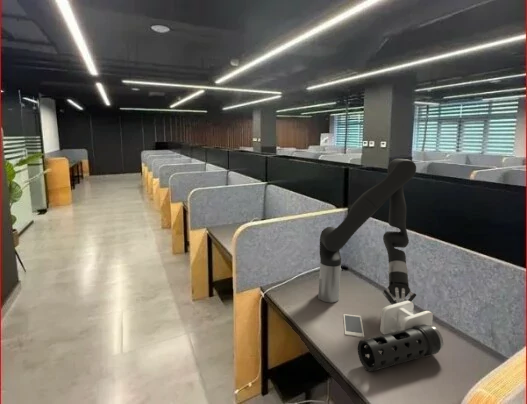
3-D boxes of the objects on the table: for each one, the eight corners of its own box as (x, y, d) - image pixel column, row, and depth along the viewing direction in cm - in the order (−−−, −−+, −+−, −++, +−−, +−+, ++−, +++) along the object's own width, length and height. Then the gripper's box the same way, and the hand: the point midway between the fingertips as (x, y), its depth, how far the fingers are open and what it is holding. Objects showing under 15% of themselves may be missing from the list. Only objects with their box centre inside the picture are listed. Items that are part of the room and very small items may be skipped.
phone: (344, 336, 116) (345, 333, 116) (343, 316, 130) (343, 313, 130) (364, 338, 115) (364, 336, 115) (360, 318, 128) (360, 315, 128)
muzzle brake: (355, 361, 103) (357, 333, 101) (420, 343, 112) (423, 317, 110) (374, 381, 94) (377, 351, 92) (443, 361, 103) (447, 333, 101)
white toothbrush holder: (400, 351, 108) (404, 321, 105) (378, 334, 117) (380, 306, 115) (430, 340, 114) (434, 311, 112) (406, 324, 123) (409, 298, 121)
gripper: (382, 268, 129) (384, 311, 120) (417, 272, 126) (421, 315, 117) (380, 275, 135) (381, 316, 126) (412, 279, 132) (416, 320, 123)
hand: (400, 315), depth 121 cm, fingers closed
